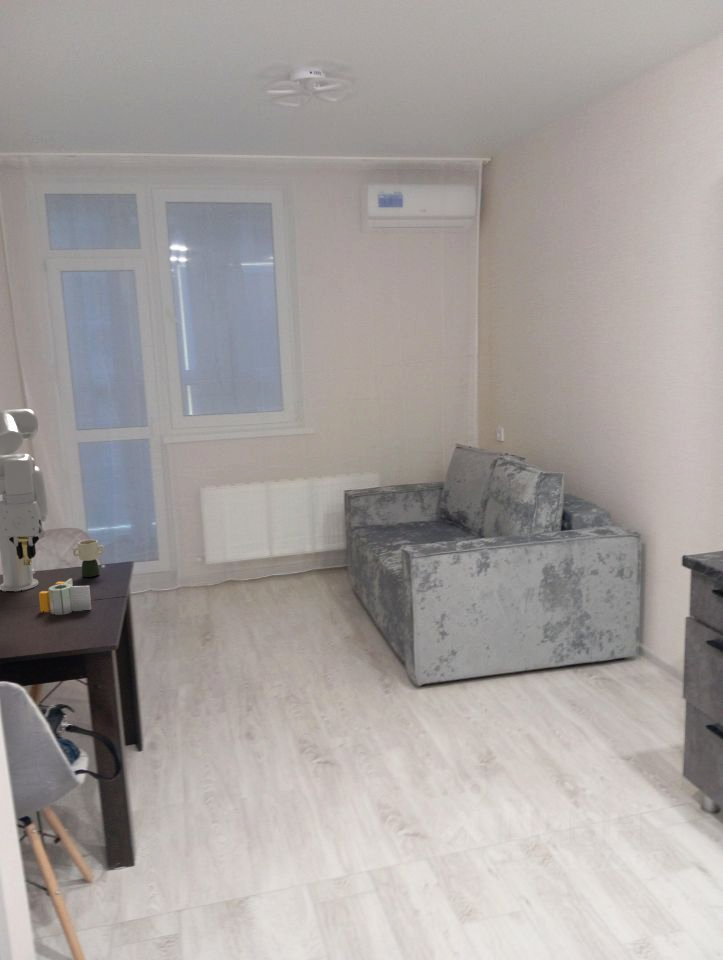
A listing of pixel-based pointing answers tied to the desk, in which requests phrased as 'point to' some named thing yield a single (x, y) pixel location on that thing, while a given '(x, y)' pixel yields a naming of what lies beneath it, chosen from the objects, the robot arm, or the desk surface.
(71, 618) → the desk surface
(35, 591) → the desk surface
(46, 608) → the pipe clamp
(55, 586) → the hinge
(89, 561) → the character mug
